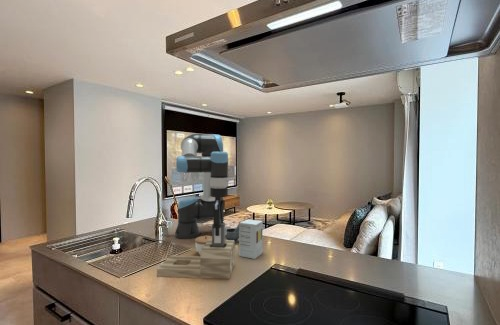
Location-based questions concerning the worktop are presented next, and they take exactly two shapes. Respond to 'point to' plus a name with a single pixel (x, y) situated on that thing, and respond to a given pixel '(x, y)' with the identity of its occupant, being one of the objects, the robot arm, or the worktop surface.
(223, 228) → the plug
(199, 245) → the lidded jar
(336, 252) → the worktop surface
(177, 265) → the dock
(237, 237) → the mortar and pestle
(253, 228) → the supplement box
